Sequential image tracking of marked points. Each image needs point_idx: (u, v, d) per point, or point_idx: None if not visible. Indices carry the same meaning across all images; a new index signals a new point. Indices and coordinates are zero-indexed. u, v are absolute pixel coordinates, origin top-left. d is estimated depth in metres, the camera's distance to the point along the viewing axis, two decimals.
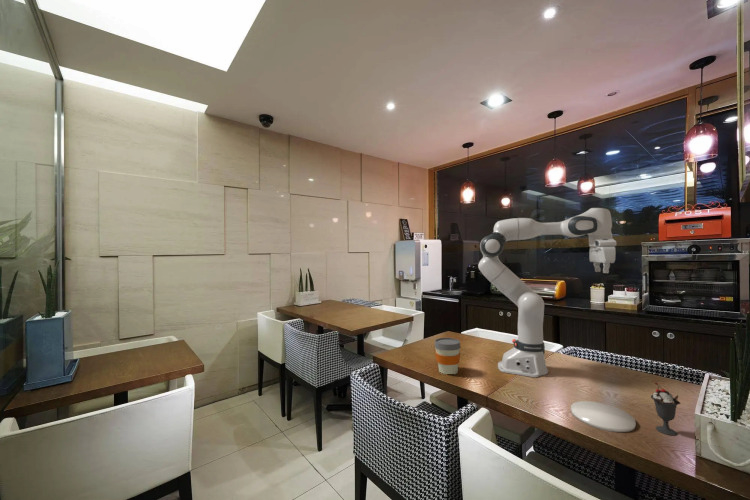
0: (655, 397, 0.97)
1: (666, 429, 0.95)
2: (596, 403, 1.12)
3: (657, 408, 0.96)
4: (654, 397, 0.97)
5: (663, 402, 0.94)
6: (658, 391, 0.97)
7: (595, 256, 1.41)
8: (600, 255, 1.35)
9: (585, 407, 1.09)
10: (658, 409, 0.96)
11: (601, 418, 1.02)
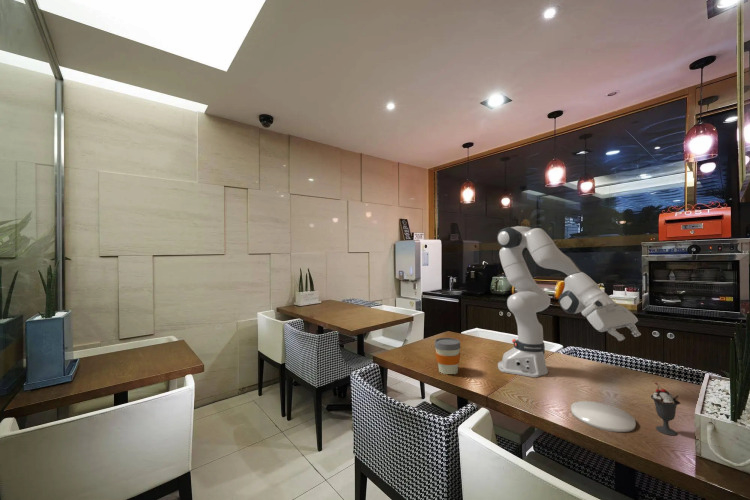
0: (655, 397, 0.97)
1: (666, 429, 0.95)
2: (596, 403, 1.12)
3: (657, 408, 0.96)
4: (654, 397, 0.97)
5: (663, 402, 0.94)
6: (658, 391, 0.97)
7: None
8: None
9: (585, 407, 1.09)
10: (658, 409, 0.96)
11: (601, 418, 1.02)
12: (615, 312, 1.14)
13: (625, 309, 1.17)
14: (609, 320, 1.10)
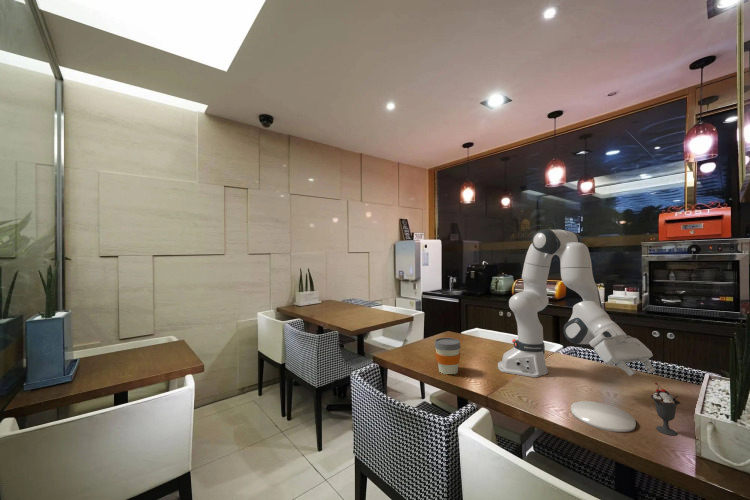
0: (655, 397, 0.97)
1: (666, 429, 0.95)
2: (596, 403, 1.12)
3: (657, 408, 0.96)
4: (654, 397, 0.97)
5: (663, 402, 0.94)
6: (658, 391, 0.97)
7: None
8: None
9: (585, 407, 1.09)
10: (658, 409, 0.96)
11: (601, 418, 1.02)
12: (626, 344, 1.08)
13: (638, 342, 1.10)
14: (618, 352, 1.04)
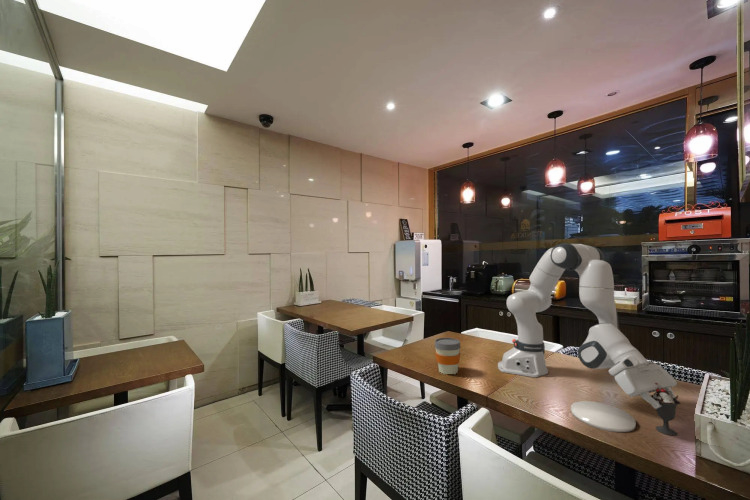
0: (655, 397, 0.97)
1: (666, 429, 0.95)
2: (596, 403, 1.12)
3: (657, 408, 0.96)
4: (654, 397, 0.97)
5: (663, 402, 0.94)
6: (658, 391, 0.97)
7: None
8: None
9: (585, 407, 1.09)
10: (658, 409, 0.96)
11: (601, 418, 1.02)
12: (649, 373, 1.02)
13: (661, 369, 1.03)
14: (641, 383, 0.98)
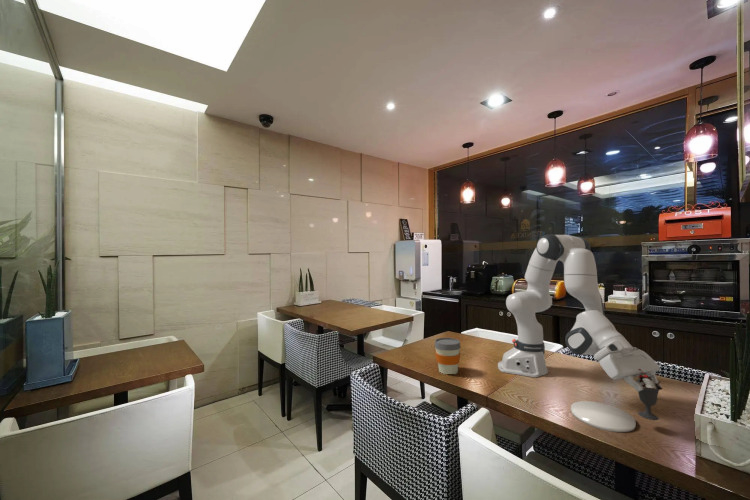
0: (638, 383, 0.98)
1: (648, 414, 0.97)
2: (596, 403, 1.12)
3: (640, 394, 0.98)
4: None
5: (645, 387, 0.96)
6: (641, 377, 0.98)
7: None
8: None
9: (585, 407, 1.09)
10: (641, 394, 0.98)
11: (601, 418, 1.02)
12: (633, 358, 1.03)
13: (645, 355, 1.05)
14: (625, 367, 0.99)
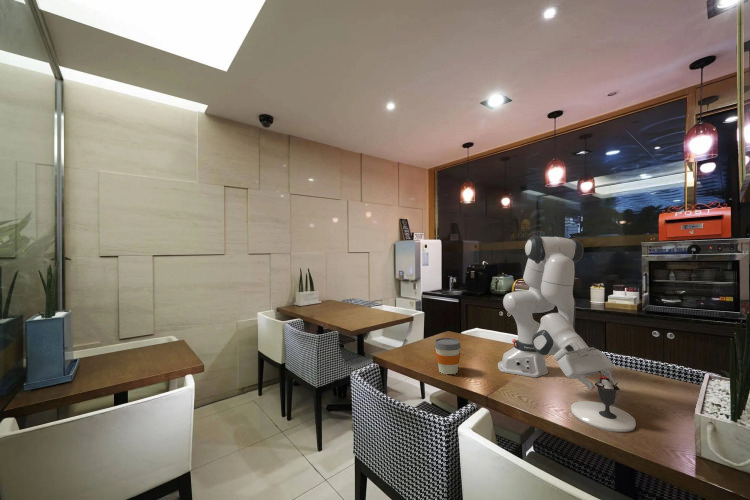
0: (598, 384, 1.04)
1: (607, 413, 1.03)
2: (596, 403, 1.12)
3: (599, 394, 1.04)
4: (597, 384, 1.05)
5: (604, 388, 1.02)
6: (601, 378, 1.04)
7: None
8: None
9: (585, 407, 1.09)
10: (600, 395, 1.04)
11: (601, 418, 1.02)
12: (589, 357, 1.11)
13: (601, 354, 1.13)
14: (580, 366, 1.07)
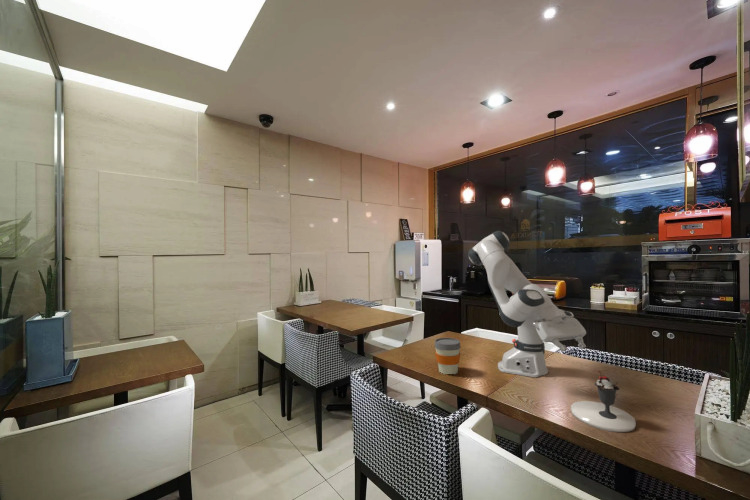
0: (598, 384, 1.05)
1: (607, 413, 1.03)
2: (596, 403, 1.12)
3: (599, 394, 1.04)
4: (597, 384, 1.05)
5: (604, 388, 1.02)
6: (600, 378, 1.05)
7: (561, 330, 1.18)
8: (572, 327, 1.20)
9: (585, 407, 1.09)
10: (600, 395, 1.04)
11: (601, 418, 1.02)
12: None
13: None
14: None
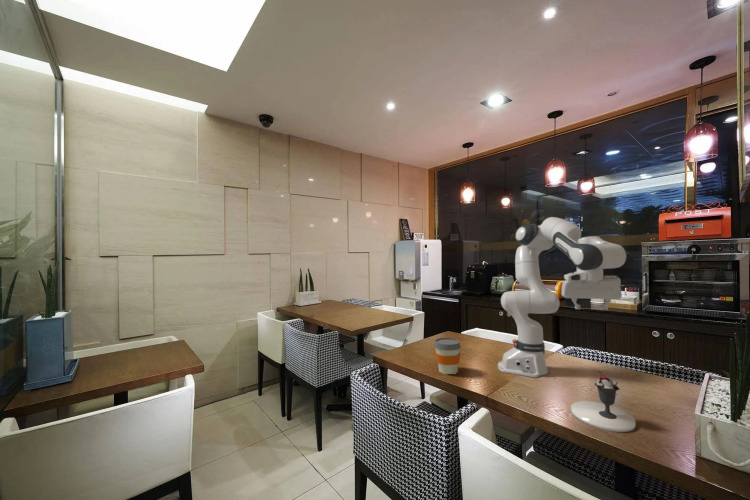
0: (598, 384, 1.05)
1: (607, 413, 1.03)
2: (596, 403, 1.12)
3: (599, 394, 1.04)
4: (597, 384, 1.05)
5: (604, 388, 1.02)
6: (600, 378, 1.05)
7: None
8: None
9: (585, 407, 1.09)
10: (600, 395, 1.04)
11: (601, 418, 1.02)
12: (596, 286, 1.21)
13: (615, 285, 1.19)
14: (576, 292, 1.23)
